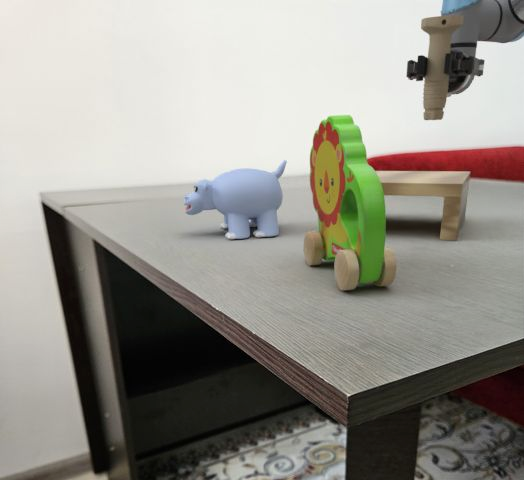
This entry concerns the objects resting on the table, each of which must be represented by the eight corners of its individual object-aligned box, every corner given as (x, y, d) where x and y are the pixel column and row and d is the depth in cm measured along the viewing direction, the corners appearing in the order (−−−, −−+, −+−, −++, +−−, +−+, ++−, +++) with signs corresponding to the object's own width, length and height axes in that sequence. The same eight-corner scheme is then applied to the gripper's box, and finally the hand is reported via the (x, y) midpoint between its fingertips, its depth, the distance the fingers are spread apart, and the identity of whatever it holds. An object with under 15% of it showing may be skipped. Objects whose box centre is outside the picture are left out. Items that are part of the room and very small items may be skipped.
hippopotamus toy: (185, 228, 80) (179, 162, 76) (281, 221, 82) (280, 157, 78) (187, 243, 70) (180, 169, 66) (296, 235, 72) (295, 163, 68)
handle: (454, 119, 88) (466, 14, 81) (415, 120, 89) (423, 17, 82) (449, 119, 92) (460, 19, 86) (412, 120, 93) (419, 21, 87)
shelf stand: (464, 220, 78) (470, 171, 75) (456, 240, 67) (462, 183, 64) (359, 216, 84) (361, 170, 81) (334, 234, 73) (335, 181, 70)
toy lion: (399, 291, 49) (412, 113, 43) (344, 297, 48) (349, 115, 42) (338, 252, 63) (342, 114, 57) (295, 256, 62) (294, 116, 56)
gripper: (492, 91, 100) (486, 87, 81) (404, 95, 106) (379, 93, 87) (498, 46, 97) (493, 31, 78) (407, 53, 103) (382, 41, 84)
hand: (433, 64), depth 82 cm, fingers closed on handle, 3 cm apart
